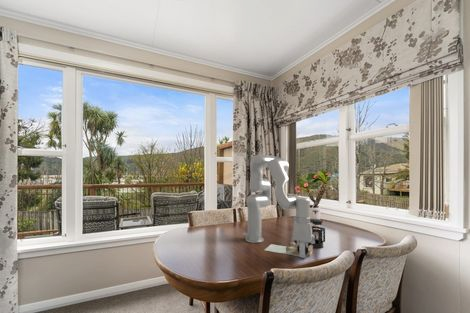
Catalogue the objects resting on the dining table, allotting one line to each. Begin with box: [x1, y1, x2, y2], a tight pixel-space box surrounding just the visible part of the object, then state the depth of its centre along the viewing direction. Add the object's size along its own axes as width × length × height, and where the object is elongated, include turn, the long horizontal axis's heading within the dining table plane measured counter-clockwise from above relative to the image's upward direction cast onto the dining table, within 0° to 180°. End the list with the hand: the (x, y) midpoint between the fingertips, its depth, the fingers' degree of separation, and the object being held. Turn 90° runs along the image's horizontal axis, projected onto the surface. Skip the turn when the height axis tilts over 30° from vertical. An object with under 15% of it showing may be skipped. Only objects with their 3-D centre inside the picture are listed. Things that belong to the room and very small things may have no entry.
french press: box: [310, 209, 326, 250], centre depth 153 cm, size 12×9×23 cm
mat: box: [264, 243, 311, 259], centre depth 143 cm, size 26×13×1 cm, turn 63°
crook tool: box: [298, 241, 306, 259], centre depth 136 cm, size 3×12×8 cm, turn 154°
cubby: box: [286, 241, 314, 258], centre depth 141 cm, size 14×11×4 cm
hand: (302, 253), depth 132 cm, fingers closed on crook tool, 3 cm apart
